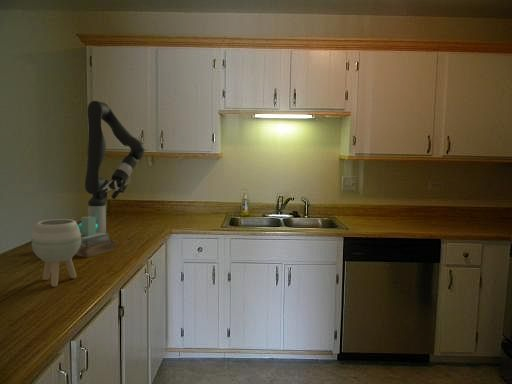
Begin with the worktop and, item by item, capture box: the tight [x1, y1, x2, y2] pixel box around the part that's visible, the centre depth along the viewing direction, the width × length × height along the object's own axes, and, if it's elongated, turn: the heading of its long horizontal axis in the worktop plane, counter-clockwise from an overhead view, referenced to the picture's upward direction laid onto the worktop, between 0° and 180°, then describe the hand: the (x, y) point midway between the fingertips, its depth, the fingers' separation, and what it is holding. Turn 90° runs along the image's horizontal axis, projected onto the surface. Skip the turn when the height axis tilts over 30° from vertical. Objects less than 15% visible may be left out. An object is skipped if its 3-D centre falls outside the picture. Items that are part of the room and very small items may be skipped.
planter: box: [31, 218, 81, 288], centre depth 142 cm, size 16×16×22 cm
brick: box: [80, 215, 96, 236], centre depth 186 cm, size 4×4×8 cm
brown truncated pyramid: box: [74, 232, 116, 258], centre depth 187 cm, size 17×17×8 cm
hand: (106, 197), depth 195 cm, fingers open, 8 cm apart
